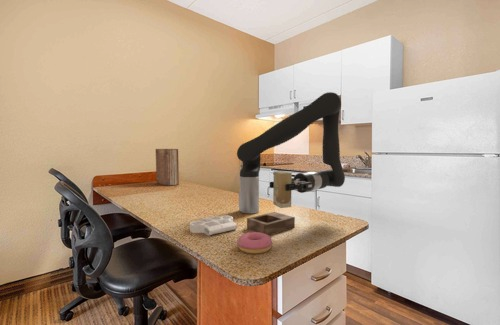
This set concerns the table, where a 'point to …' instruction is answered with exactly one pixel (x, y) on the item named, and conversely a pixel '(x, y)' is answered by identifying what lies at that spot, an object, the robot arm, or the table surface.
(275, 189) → the skincare box
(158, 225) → the table surface
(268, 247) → the doughnut
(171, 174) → the brown wooden block
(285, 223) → the walnut holder
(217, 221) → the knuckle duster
